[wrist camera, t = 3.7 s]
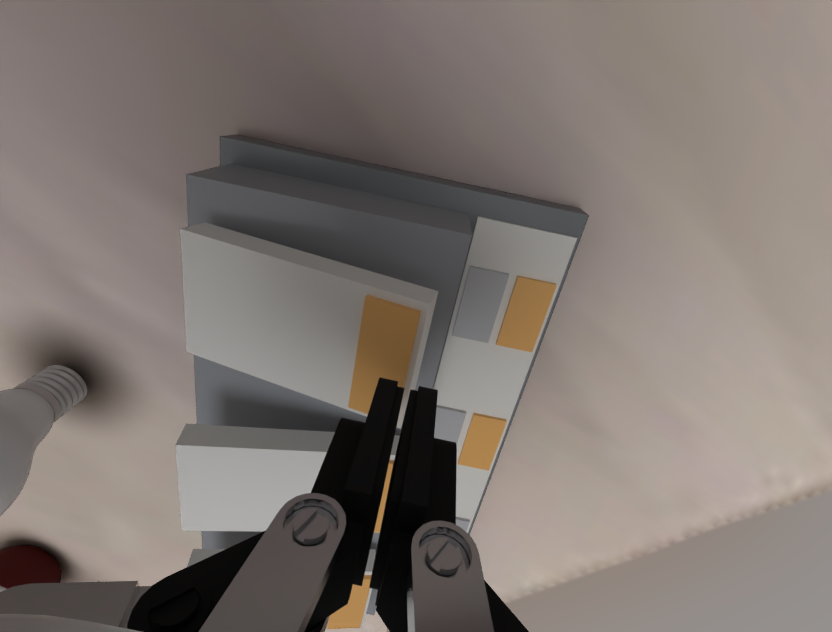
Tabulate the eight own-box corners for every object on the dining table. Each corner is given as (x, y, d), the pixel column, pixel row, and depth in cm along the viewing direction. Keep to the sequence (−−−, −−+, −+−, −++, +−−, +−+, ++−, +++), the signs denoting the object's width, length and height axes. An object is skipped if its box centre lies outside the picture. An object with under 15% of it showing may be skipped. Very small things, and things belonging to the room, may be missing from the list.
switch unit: (235, 134, 19) (170, 142, 15) (579, 208, 20) (617, 237, 15) (233, 519, 31) (196, 589, 26) (451, 563, 31) (450, 640, 27)
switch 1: (205, 222, 16) (175, 230, 14) (438, 291, 14) (427, 306, 13) (208, 338, 18) (182, 354, 17) (410, 409, 16) (398, 432, 15)
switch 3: (193, 548, 21) (183, 577, 20) (375, 549, 23) (376, 575, 22) (196, 608, 23) (187, 636, 22) (362, 604, 25) (363, 630, 24)
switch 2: (186, 423, 18) (173, 448, 16) (401, 435, 19) (405, 459, 18) (190, 507, 20) (180, 535, 18) (384, 511, 22) (386, 536, 20)
